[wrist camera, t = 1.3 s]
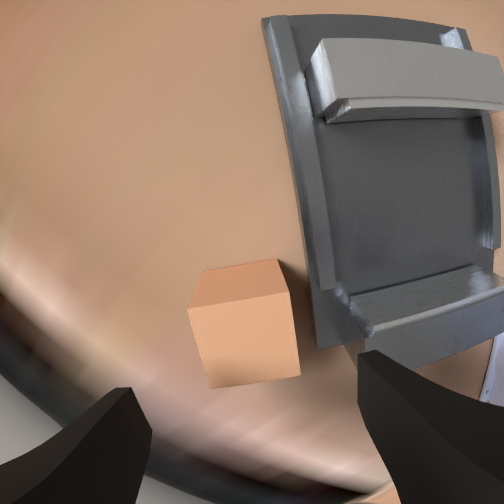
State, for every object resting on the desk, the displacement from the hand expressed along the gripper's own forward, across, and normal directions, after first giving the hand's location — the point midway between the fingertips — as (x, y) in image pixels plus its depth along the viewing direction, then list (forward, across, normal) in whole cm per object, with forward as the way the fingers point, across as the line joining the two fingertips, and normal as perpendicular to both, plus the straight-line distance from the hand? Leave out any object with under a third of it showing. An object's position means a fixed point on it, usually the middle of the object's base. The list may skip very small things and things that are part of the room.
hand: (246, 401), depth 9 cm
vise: (+8, -10, -6) cm, 14 cm away
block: (+9, 0, 0) cm, 9 cm away
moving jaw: (+8, -10, -10) cm, 16 cm away
